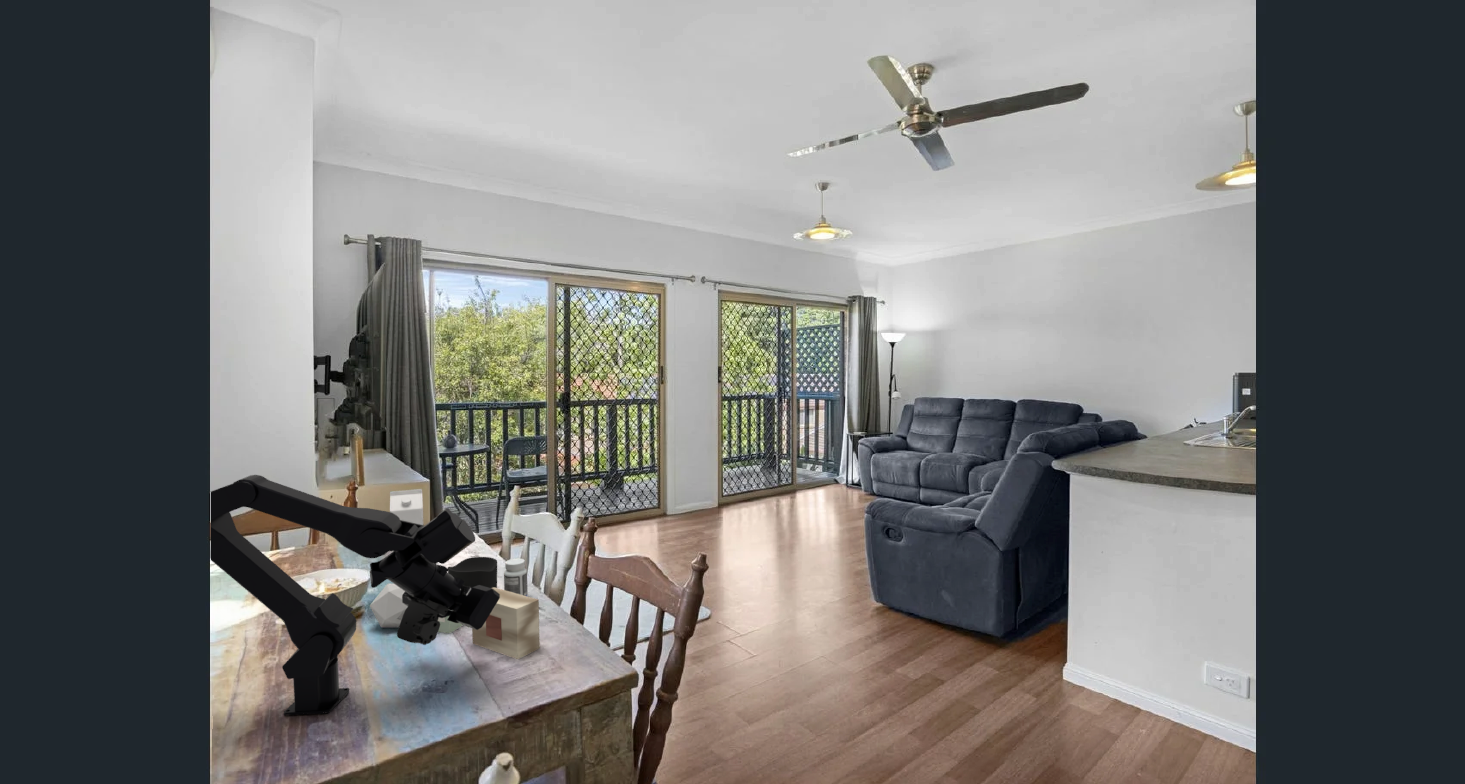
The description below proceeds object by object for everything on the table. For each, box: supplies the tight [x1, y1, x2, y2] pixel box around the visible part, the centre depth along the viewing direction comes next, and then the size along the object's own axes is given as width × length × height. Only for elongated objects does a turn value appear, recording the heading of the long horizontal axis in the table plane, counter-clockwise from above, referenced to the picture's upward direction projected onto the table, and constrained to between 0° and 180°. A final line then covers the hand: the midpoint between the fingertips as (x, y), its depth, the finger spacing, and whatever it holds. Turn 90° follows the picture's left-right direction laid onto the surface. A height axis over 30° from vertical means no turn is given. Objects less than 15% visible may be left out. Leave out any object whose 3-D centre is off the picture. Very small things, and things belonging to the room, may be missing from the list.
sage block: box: [438, 616, 464, 634], centre depth 127 cm, size 5×5×7 cm
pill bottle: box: [503, 557, 529, 597], centre depth 141 cm, size 5×5×8 cm
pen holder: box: [447, 556, 498, 588], centre depth 134 cm, size 9×9×10 cm
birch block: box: [471, 587, 541, 660], centre depth 119 cm, size 5×12×9 cm, turn 59°
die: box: [369, 583, 408, 629], centre depth 128 cm, size 8×9×10 cm
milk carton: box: [389, 488, 425, 553], centre depth 163 cm, size 7×7×19 cm
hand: (480, 620), depth 113 cm, fingers closed
